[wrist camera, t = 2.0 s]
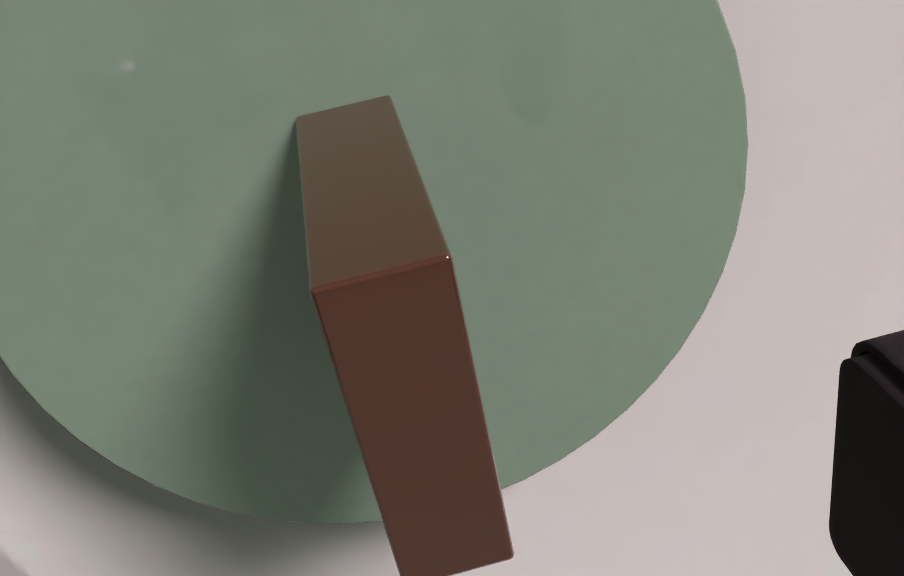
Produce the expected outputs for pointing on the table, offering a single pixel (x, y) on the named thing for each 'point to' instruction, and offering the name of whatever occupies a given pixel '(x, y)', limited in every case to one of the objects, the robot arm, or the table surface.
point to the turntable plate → (224, 231)
